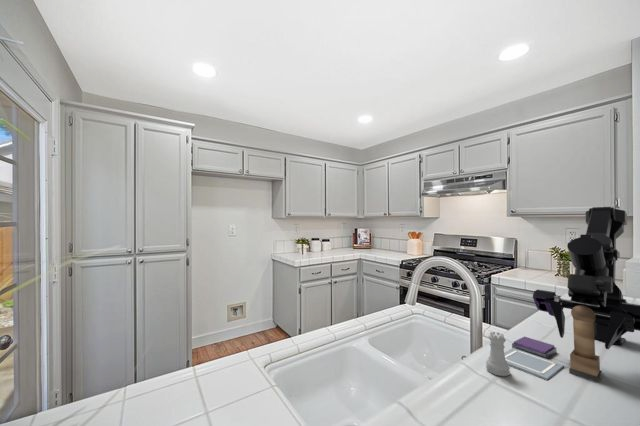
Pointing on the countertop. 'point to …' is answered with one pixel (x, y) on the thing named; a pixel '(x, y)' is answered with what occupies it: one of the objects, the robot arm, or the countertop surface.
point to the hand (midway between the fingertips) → (582, 342)
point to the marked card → (532, 363)
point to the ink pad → (534, 347)
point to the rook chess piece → (497, 356)
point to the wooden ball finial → (584, 345)
